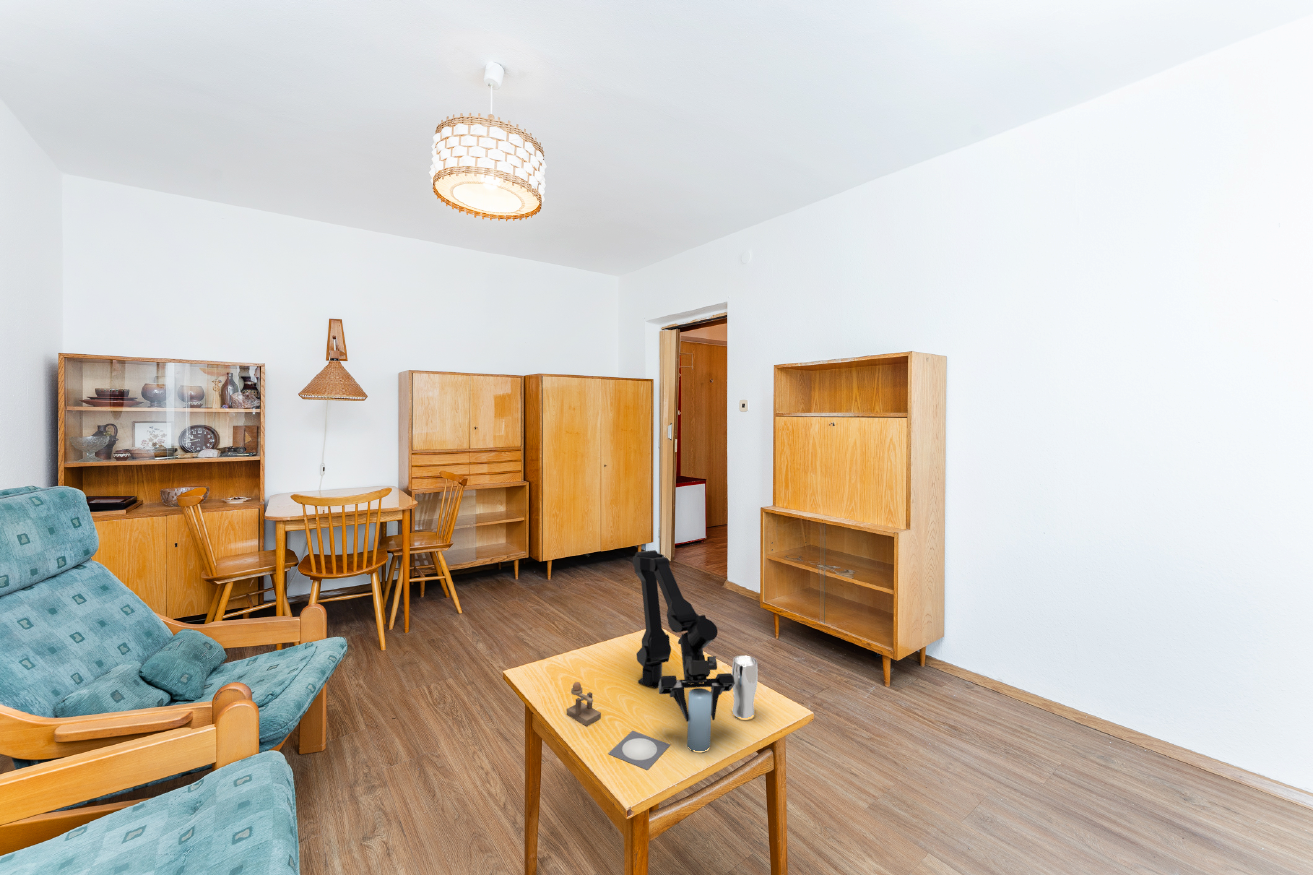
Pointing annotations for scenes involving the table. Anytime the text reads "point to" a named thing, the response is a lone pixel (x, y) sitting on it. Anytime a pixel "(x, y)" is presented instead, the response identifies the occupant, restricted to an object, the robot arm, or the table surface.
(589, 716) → the catapult
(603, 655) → the table surface
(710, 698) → the pale blue capsule
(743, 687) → the beer glass
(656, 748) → the pad
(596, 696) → the table surface
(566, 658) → the table surface
